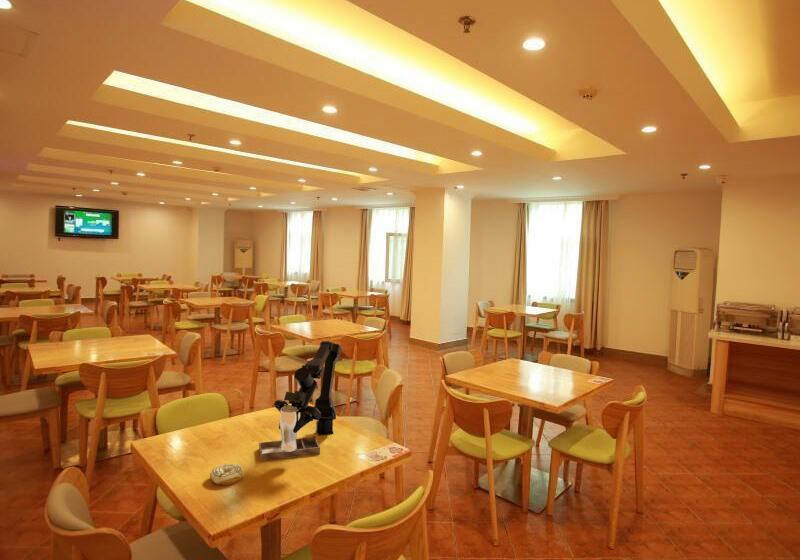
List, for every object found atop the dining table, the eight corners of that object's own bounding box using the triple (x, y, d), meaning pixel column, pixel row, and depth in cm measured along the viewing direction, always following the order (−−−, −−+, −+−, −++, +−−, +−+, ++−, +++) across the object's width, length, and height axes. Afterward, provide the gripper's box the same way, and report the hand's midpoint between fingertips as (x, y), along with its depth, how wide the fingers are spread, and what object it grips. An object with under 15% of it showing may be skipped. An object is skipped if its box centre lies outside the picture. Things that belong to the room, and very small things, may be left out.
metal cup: (302, 446, 174) (303, 408, 172) (290, 454, 167) (291, 414, 166) (287, 442, 176) (288, 404, 175) (275, 449, 170) (276, 410, 169)
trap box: (315, 442, 192) (315, 436, 192) (319, 453, 181) (320, 447, 181) (259, 448, 185) (259, 442, 184) (260, 460, 174) (260, 454, 174)
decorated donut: (214, 490, 153) (213, 479, 152) (207, 476, 161) (207, 466, 161) (246, 482, 158) (246, 471, 158) (237, 469, 167) (237, 459, 167)
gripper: (276, 379, 178) (256, 416, 168) (316, 386, 170) (297, 425, 160) (289, 393, 185) (271, 429, 176) (328, 400, 177) (311, 439, 168)
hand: (286, 430), depth 170 cm, fingers closed on metal cup, 6 cm apart
